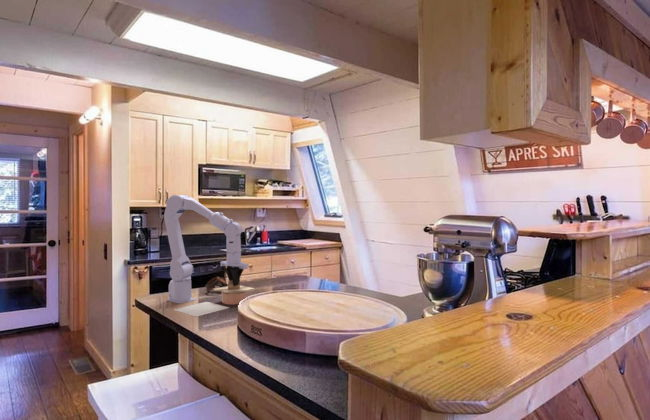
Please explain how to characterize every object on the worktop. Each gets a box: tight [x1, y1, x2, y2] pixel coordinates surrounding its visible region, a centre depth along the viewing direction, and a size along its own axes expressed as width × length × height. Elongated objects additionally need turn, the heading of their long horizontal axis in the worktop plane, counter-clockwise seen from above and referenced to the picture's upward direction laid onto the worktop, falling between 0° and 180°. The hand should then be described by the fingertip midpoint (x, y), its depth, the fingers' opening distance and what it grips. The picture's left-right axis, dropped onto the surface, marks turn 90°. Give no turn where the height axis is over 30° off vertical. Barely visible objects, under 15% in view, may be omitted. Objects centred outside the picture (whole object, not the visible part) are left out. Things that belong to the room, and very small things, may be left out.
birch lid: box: [212, 279, 256, 294], centre depth 173 cm, size 12×12×4 cm
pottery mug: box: [204, 276, 228, 293], centre depth 191 cm, size 12×10×8 cm
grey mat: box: [173, 301, 230, 317], centre depth 162 cm, size 15×15×1 cm
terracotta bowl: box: [221, 291, 248, 305], centre depth 173 cm, size 10×10×4 cm
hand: (234, 285), depth 173 cm, fingers closed on birch lid
